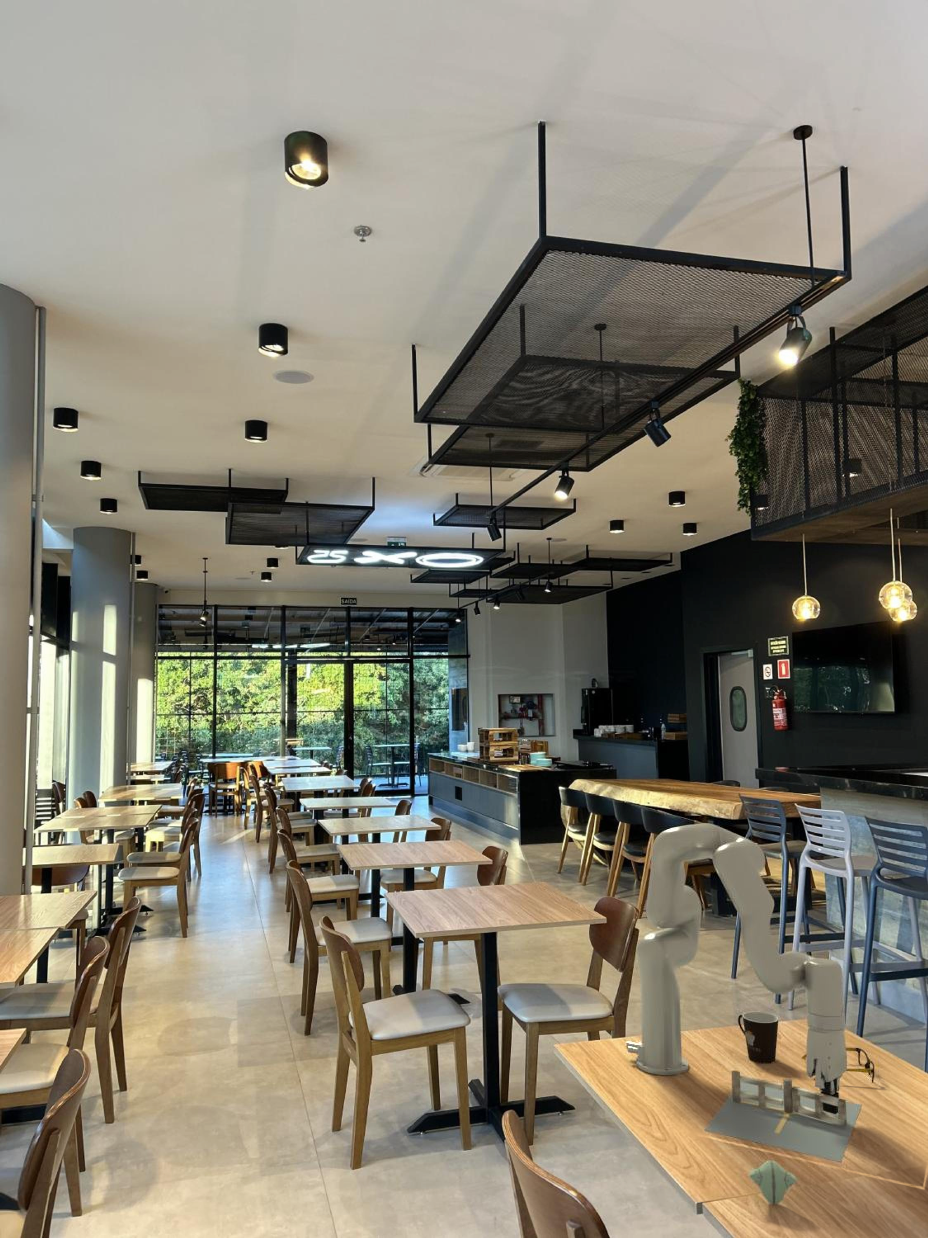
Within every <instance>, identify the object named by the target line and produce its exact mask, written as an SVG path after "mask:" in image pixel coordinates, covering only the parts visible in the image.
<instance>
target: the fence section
mask: <svg viewBox="0 0 928 1238" xmlns="http://www.w3.org/2000/svg"><path fill="white" fill-rule="evenodd" d="M740 1082H743V1083H748V1084H753V1085H758V1094H754V1093H750V1092H745V1091H741V1086H740ZM765 1087H768V1088H773V1089H778V1090H782V1089H783V1092H784V1111H785V1112H787V1113H793V1100H792V1087H793V1080H792V1079H790V1078H783V1079H782V1083H780V1082H776V1081H770V1080H766V1079H761V1078H755V1077H750V1076H746V1075H741V1072H740V1071H739V1070H731V1093H732V1100H733V1101H734V1102H740V1101H741V1097H742V1098H747V1099H751V1100H756V1101H759V1107H763V1108H765V1106H766V1103H770V1104H775V1105H780V1106H782V1105H783V1099H779V1098H774V1097H769V1096H765Z"/></svg>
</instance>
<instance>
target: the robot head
mask: <svg viewBox="0 0 928 1238" xmlns="http://www.w3.org/2000/svg"><path fill="white" fill-rule="evenodd" d="M748 1176H749V1178H750V1179H751V1180H752V1182H753V1183H754V1184H755V1185H757V1187H758V1188H759V1189H760V1191H761V1194H762V1197H764V1199H765V1200H766V1201H767V1202H768V1203H769V1204H772V1205H777V1204H780V1203H781V1202H782V1200H783V1199H784V1197H785V1194H786V1192H787V1191H788V1190H789V1189H790V1188H791V1187H793V1186H794V1184H796V1183H797V1182H798V1179H797V1178H796V1176H795V1174H794V1173H791V1172H788V1171H787V1170H786V1169H784V1168H783V1167H781V1165H779V1163H777V1162H776V1161H774V1160H772V1159H771V1160H766V1161H765V1162H763V1164H761V1166H759V1167H757V1168H755V1169H754V1168H753V1169H750V1172H749V1174H748Z"/></svg>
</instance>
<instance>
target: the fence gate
mask: <svg viewBox="0 0 928 1238" xmlns="http://www.w3.org/2000/svg"><path fill="white" fill-rule="evenodd" d="M800 1096H803V1097H806V1098H810V1099H813V1100H815V1109H812V1108H808V1107H805V1106H801V1105H800ZM792 1100H793V1112H797V1113H800V1114H804V1115H807V1116H810V1117H814V1118H817V1119H820V1120H824V1121H827V1122H831V1123H834V1124H837V1125H841V1126H844V1127H845V1126H846V1125H847V1117H846V1102H847V1100H846V1099H842V1098H840V1097H839V1098H836V1097H832V1096H829V1095H825V1094H822V1093H821V1092H819V1091H818V1092H817V1091H813V1090H810V1089H806V1088H803V1087H800V1086H796V1085H792ZM823 1102H824V1103H827V1104H831V1105H834V1106H838V1116H836V1115H832V1114H829V1113H825V1112H823Z"/></svg>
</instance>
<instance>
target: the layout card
mask: <svg viewBox="0 0 928 1238" xmlns="http://www.w3.org/2000/svg"><path fill="white" fill-rule="evenodd" d="M740 1086H741V1091H745V1092H750V1093H754V1094H758V1085H753V1084H748V1083H743V1082H740ZM765 1096H769V1097H774V1098H779V1099H783V1105H782V1106H780V1105H775V1104H770V1103H766V1106H765V1108H763V1107H759V1101H756V1100H751V1099H747V1098H742V1097H741V1101H740V1102H734V1101H733V1100H732V1092H731V1093H730V1094H729V1096H728V1098H726V1100H725V1102H724V1103H723V1105H721V1107H720V1108H719V1109H718V1111H717V1112H716V1114H715V1116H713V1118H712V1119H711V1121H710V1122H709V1123H708V1125H707V1126H706V1127H705V1129H704V1131H705V1132H710V1133H715V1134H719V1135H723V1136H727V1137H731V1138H736V1139H739V1140H740V1139H741V1140H744V1141H748V1142H754V1143H758V1144H761V1145H766V1146H770V1147H774V1148H778V1149H783V1150H787V1151H791V1152H796V1153H799V1154H805V1155H808V1156H812V1157H816V1158H821V1159H825V1160H829V1161H835V1162H837V1163H838V1162H839V1163H842V1159H843V1157H844V1155H845V1152H846V1149H847V1148H848V1144H849V1142H850V1138H851V1136H852V1133H853V1131H854V1128H855V1126H856V1122H857V1119H858V1117H859V1113H860V1111H861V1109H862V1106H863V1105H862V1104H859V1103H854V1102H849V1101H846V1117H847V1125H846V1126H845V1127H844V1126H841V1125H837V1124H834V1123H831V1122H827V1121H824V1120H820V1119H817V1118H814V1117H810V1116H807V1115H804V1114H800V1113H797V1112H793V1113H787V1112H785V1111H784V1092H783V1089H782V1090H778V1089H773V1088H768V1087H765ZM800 1105H801V1106H805V1107H808V1108H812V1109H815V1100H813V1099H810V1098H806V1097H803V1096H800ZM823 1112H825V1113H829V1112H826V1111H823ZM829 1114H832V1113H829ZM832 1115H836V1116H838V1113H837V1114H832Z"/></svg>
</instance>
